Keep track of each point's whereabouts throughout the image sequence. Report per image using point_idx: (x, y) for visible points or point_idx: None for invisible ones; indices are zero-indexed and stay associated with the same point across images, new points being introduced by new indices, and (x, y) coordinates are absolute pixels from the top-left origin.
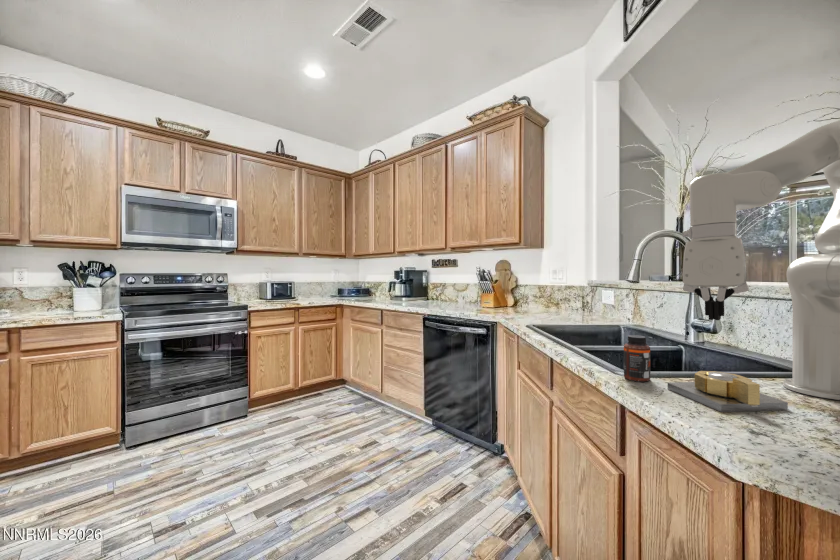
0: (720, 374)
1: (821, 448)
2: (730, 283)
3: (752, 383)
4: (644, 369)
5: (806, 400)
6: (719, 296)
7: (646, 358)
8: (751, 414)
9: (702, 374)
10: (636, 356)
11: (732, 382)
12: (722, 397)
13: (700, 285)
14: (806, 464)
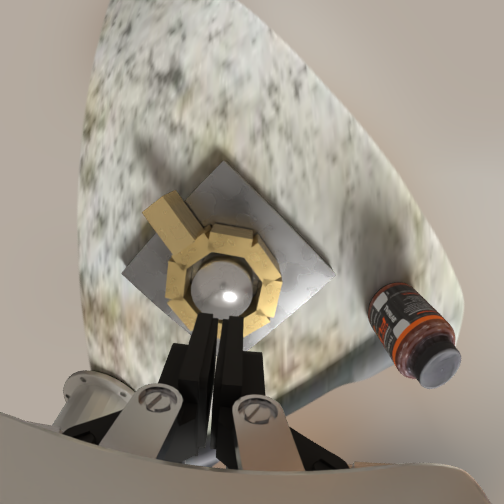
0: (225, 295)
1: (99, 80)
2: (5, 431)
3: (154, 211)
4: (389, 303)
5: (113, 349)
6: (161, 417)
7: (396, 323)
8: (175, 187)
9: (265, 284)
10: (421, 311)
11: (198, 241)
12: (222, 223)
13: (318, 475)
14: (128, 4)
